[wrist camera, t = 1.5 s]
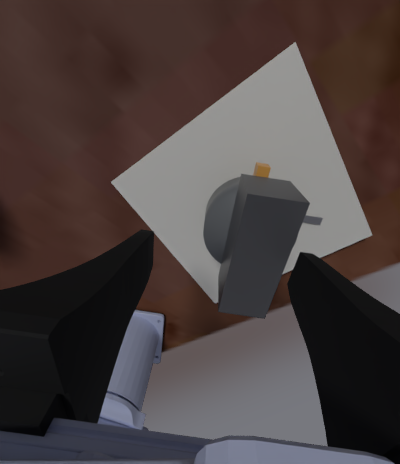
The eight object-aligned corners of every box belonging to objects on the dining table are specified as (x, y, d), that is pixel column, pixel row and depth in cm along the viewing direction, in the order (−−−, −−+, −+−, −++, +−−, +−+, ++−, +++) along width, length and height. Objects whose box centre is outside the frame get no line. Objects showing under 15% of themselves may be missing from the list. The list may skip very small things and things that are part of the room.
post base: (365, 229, 21) (379, 241, 19) (215, 296, 26) (214, 310, 25) (291, 45, 15) (300, 38, 13) (115, 178, 20) (105, 186, 19)
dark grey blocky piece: (271, 261, 21) (291, 322, 15) (199, 251, 21) (191, 307, 15) (304, 166, 17) (349, 200, 11) (214, 152, 17) (212, 179, 11)
